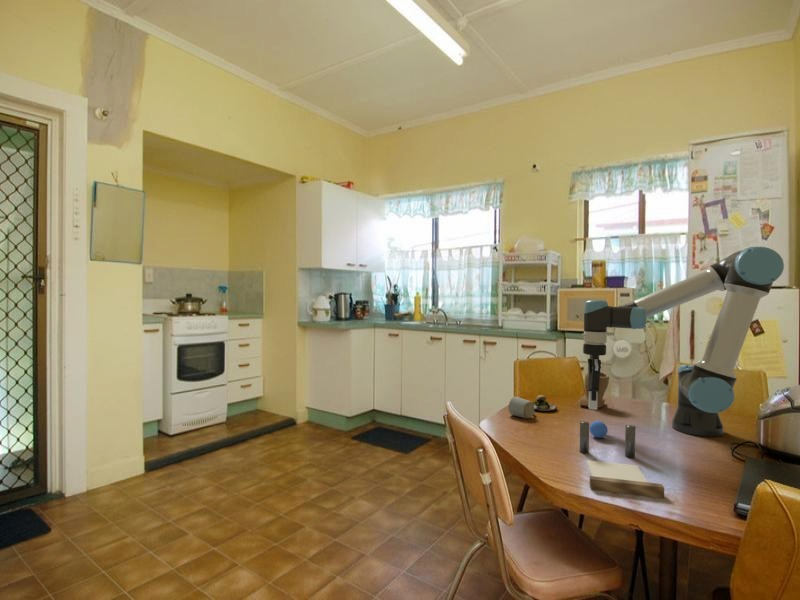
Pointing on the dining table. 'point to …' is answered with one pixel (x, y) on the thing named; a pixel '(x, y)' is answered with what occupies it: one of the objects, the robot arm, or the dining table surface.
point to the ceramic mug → (521, 407)
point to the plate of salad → (543, 404)
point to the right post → (630, 441)
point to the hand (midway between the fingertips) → (592, 408)
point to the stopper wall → (627, 486)
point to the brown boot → (602, 388)
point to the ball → (598, 429)
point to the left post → (584, 437)
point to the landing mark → (616, 471)
